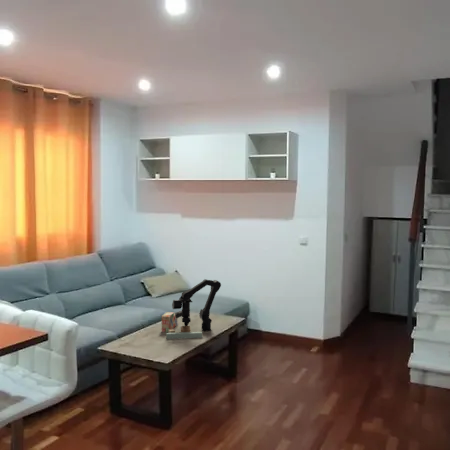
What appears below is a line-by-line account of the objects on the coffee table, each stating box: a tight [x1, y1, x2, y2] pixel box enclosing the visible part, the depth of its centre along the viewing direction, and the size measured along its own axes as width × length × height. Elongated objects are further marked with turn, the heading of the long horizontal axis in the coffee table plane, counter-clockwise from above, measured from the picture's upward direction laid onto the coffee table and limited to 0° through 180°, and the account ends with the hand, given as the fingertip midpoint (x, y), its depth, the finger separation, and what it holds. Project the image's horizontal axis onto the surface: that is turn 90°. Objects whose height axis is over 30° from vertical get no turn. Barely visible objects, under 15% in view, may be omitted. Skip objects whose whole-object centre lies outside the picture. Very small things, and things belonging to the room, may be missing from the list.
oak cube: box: [167, 328, 176, 333], centre depth 363 cm, size 4×4×4 cm
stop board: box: [165, 331, 203, 340], centre depth 358 cm, size 26×3×4 cm, turn 97°
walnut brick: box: [180, 325, 192, 332], centre depth 367 cm, size 7×10×5 cm
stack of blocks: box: [161, 311, 178, 333], centre depth 382 cm, size 21×6×12 cm, turn 169°
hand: (185, 328), depth 373 cm, fingers closed
